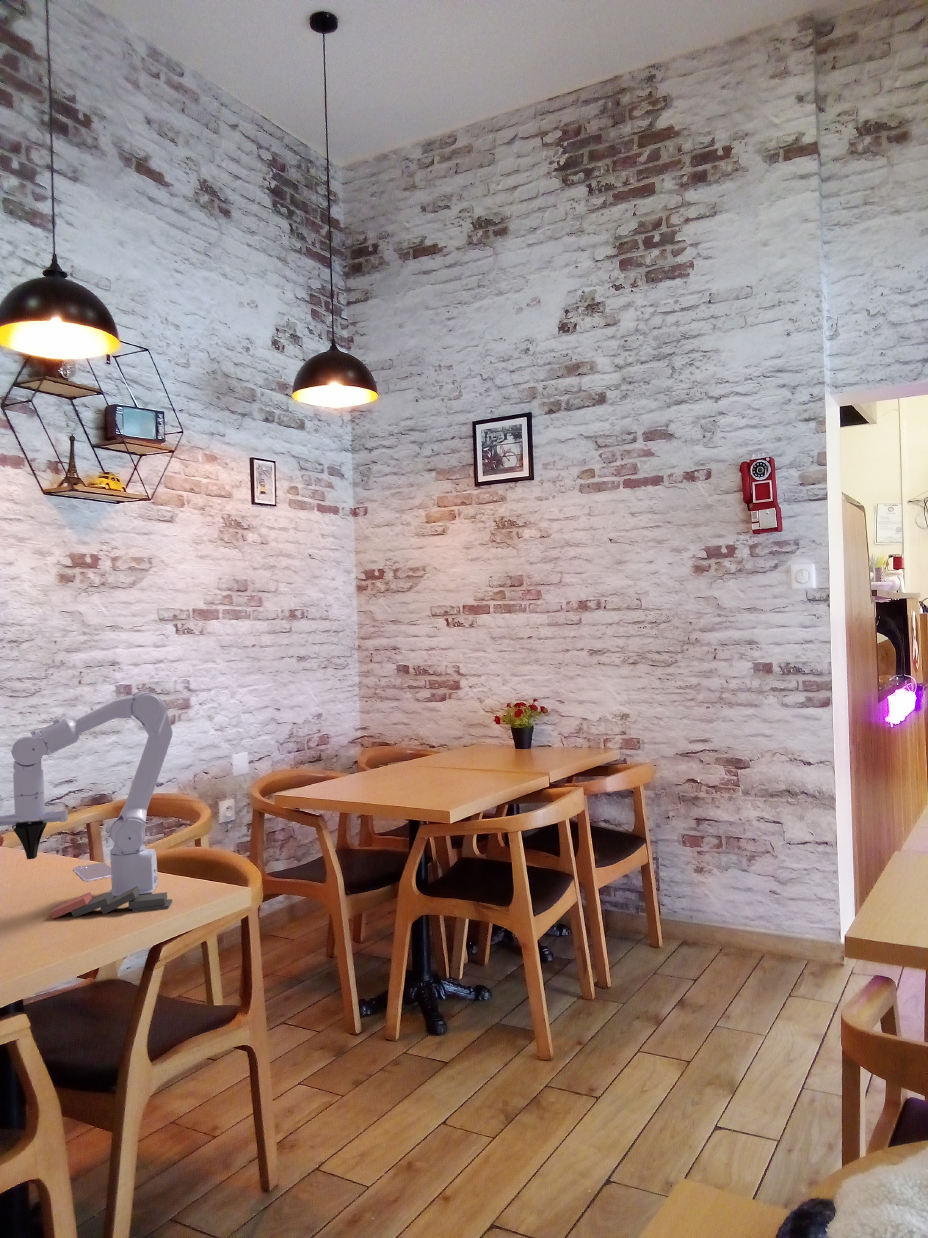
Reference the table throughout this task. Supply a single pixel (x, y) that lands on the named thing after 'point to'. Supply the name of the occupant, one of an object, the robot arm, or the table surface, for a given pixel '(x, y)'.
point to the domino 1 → (93, 904)
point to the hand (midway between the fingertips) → (32, 858)
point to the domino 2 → (121, 899)
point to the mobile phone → (93, 871)
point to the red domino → (71, 905)
